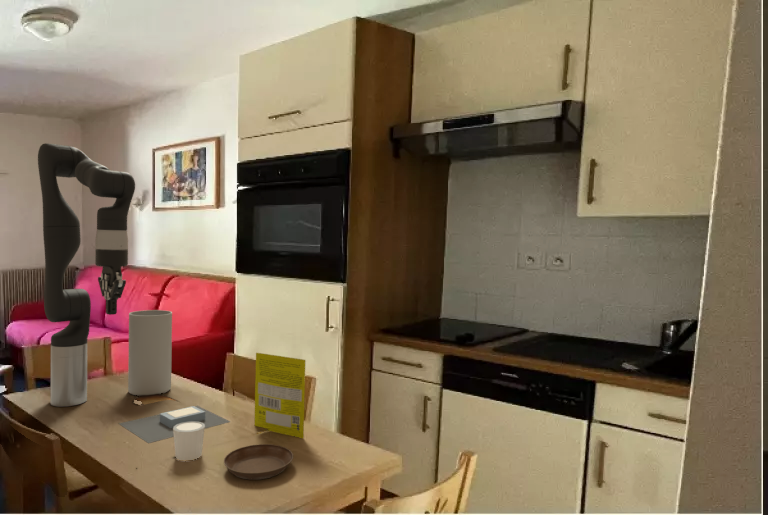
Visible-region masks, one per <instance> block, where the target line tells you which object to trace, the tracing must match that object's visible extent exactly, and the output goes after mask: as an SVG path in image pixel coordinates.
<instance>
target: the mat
mask: <svg viewBox="0 0 768 515" xmlns="http://www.w3.org/2000/svg"><path fill="white" fill-rule="evenodd" d="M195 407H197V408H199V409H201V410H203V411H205V420H203V421H199V422H201V423H204V424H205V429H209V428H212V427H215V426H221V425H224V424H227V423H231V420H228V419H226V418H223V417H222V416H220V415H217V413H216V414H215V413H214V412H212V411H210V410H207V409H206V408H204V407H201V406H199V405H195ZM118 425H120V426H121V427H123V428H124V429H126V430H127V431H129V432H130V433H132V434H134V435H135V436H137V437H138V438H139V439H141V440H142V441H144V442H146V443H148V444H151V443H156V442H159V441H163V440H166V439H170V438H174V433H173V428H169V427H168V426H166V425H164V424H163V423H161V422H160V413H159V414H154V415H150V416H145V417H142V418H137V419H133V420H128V421H124V422H118Z"/></svg>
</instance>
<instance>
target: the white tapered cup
mask: <svg viewBox="0 0 768 515" xmlns="http://www.w3.org/2000/svg"><path fill="white" fill-rule="evenodd" d="M205 429H206V428H205V424H204V423H201V422H195V421H191V422H183V423H180V424H177V425H175V426H174V427H173V433H174V437H173V443H174V455H175V457H176V458H177V459H179V460H193V459H196V460H198V459H197V458H199V457H200V456H201V457H202V454H203V444H204V437H205ZM175 457H174V458H175ZM201 457H200V458H201ZM176 458H175V459H176ZM200 458H199V459H200ZM177 459H176V460H177ZM179 460H178V461H179ZM193 461H194V460H193Z"/></svg>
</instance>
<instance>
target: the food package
mask: <svg viewBox="0 0 768 515" xmlns="http://www.w3.org/2000/svg"><path fill="white" fill-rule="evenodd" d="M254 382H255V384H254V387H255V388H254V423H253V424H254V427H259V428H263V429H265V431H268V432H271V431H272V433H277V434H281V435H285V436H291V437H294V436H295V438H298V437H299V438H298V439H304V431H305V430H304V428H305V396H306V395H305V391H306V390H305V388H306V384H305V383H306V359H302V358H296V357H288V356H281V355H275V354H268V353H261V352H256V353H255V381H254Z"/></svg>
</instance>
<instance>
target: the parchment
mask: <svg viewBox="0 0 768 515" xmlns="http://www.w3.org/2000/svg"><path fill="white" fill-rule="evenodd" d="M137 397H138V396H137ZM135 398H136V397H135ZM135 398H134V399H135ZM135 400H137V401H141V402H142V404H144V406H145V405H149V404H155V403H158V402H159V403H160V402H164V401H168V400H170V401H173V402H175V401H176V402H178V400H177V399H176V398H173V397H170V396H168V395H164V394H154V395H141V396H139V397H138V398H136V399H135ZM179 403H181V402H180V401H179Z"/></svg>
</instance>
